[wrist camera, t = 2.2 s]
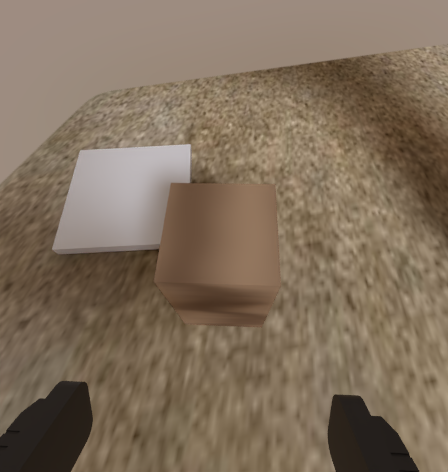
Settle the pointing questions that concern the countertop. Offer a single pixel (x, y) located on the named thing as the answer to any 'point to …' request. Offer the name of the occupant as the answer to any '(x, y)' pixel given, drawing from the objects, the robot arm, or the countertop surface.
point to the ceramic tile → (120, 198)
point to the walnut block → (220, 253)
